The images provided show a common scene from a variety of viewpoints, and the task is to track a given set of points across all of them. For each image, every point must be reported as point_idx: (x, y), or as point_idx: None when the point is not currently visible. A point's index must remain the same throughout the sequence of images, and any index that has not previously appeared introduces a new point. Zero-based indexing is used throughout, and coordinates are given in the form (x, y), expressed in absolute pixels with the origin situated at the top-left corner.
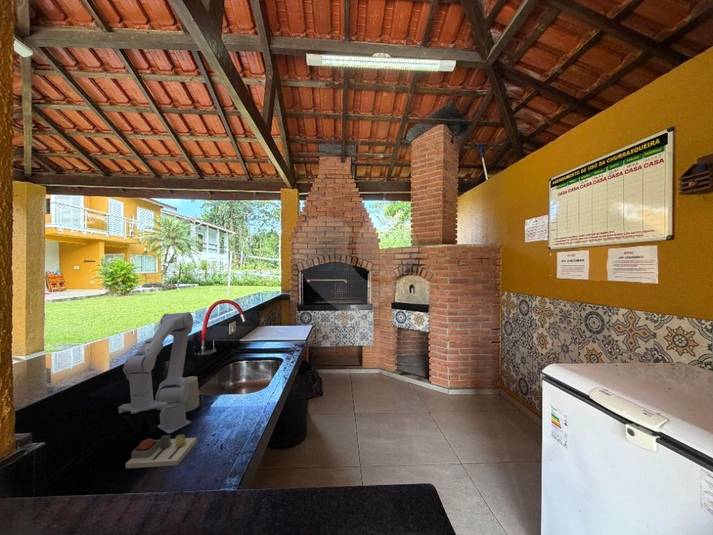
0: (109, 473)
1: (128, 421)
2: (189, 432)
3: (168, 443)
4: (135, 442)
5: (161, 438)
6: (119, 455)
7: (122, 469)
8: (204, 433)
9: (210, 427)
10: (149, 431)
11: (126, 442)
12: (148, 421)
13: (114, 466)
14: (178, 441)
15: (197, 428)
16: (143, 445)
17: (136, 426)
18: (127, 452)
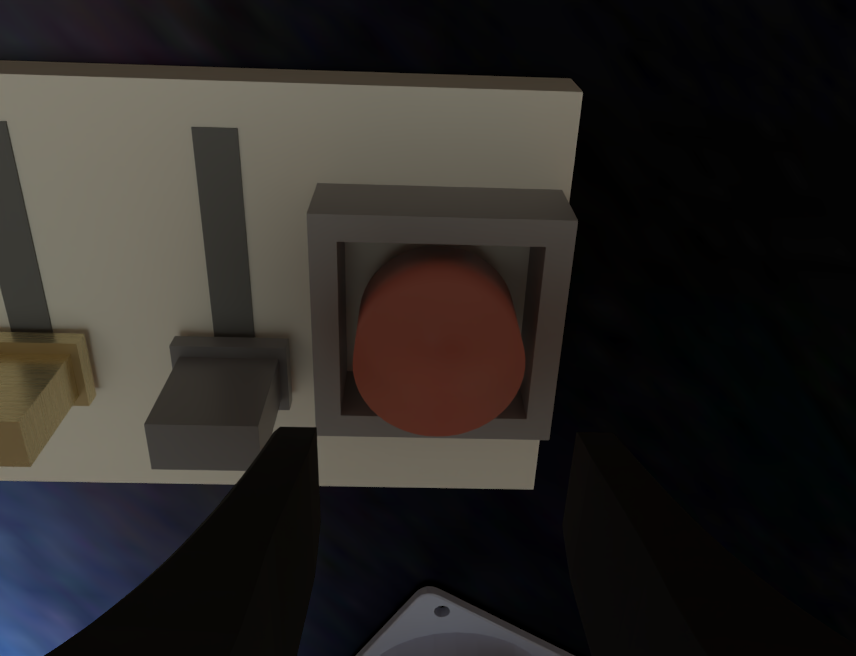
0: (739, 7)
1: (806, 638)
2: None
3: (173, 374)
4: (741, 502)
5: (243, 418)
6: (805, 322)
7: (605, 65)
8: (10, 559)
9: (21, 635)
10: (292, 441)
11: (847, 512)
12: (197, 603)
13: (751, 136)
14: (12, 380)
15: None
16: (424, 297)
17: (608, 551)
18: (736, 360)
